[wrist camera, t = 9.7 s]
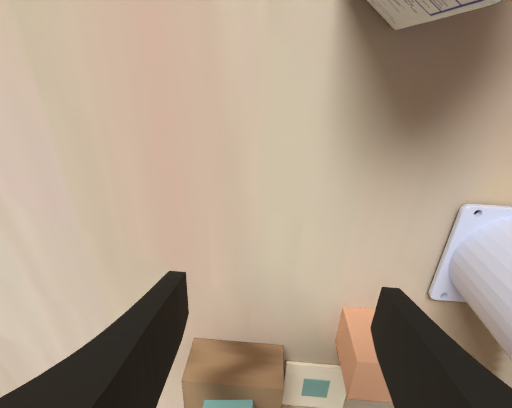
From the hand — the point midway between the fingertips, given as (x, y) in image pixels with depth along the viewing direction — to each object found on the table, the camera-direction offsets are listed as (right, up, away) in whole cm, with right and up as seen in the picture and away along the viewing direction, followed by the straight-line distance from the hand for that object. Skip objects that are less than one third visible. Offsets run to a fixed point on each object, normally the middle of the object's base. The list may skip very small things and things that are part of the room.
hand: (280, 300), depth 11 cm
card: (+5, -14, +18) cm, 23 cm away
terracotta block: (+8, -7, +14) cm, 18 cm away
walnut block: (-3, -12, +18) cm, 22 cm away
